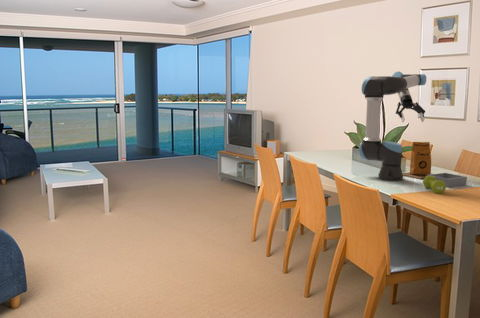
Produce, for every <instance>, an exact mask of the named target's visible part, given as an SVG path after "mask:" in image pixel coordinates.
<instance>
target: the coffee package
mask: <svg viewBox="0 0 480 318" xmlns="http://www.w3.org/2000/svg"><path fill="white" fill-rule="evenodd" d="M430 143H431V142H430V141H412V147H411V153H410V164H409V172H410V173H411V174H414V175H430V173H432V155H431V148H430V147H431V146H430Z"/></svg>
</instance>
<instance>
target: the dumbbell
mask: <svg viewBox="0 0 480 318" xmlns="http://www.w3.org/2000/svg"><path fill="white" fill-rule="evenodd" d="M422 184H423V186H424V187H425V189H431V190H432V192H433V193H434V194H443V193H444V192H445V191H446V190H447V187H446V185H445V183H444V181H442V180H436V178H435V177H434V176H426V177H425V178H424V179H422Z"/></svg>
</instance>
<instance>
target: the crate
mask: <svg viewBox="0 0 480 318" xmlns="http://www.w3.org/2000/svg"><path fill="white" fill-rule="evenodd" d="M427 176H434V177H435V178H436V180H442V181H444V183H445V185H446V189H449V188H455V187H462V186H467V181H468V180H467V179H468V176H465V175H460V174H454V173H448V172H440V173H432V174H430V175H427Z"/></svg>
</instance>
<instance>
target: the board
mask: <svg viewBox="0 0 480 318" xmlns="http://www.w3.org/2000/svg"><path fill="white" fill-rule="evenodd" d="M430 174H433V173H432V172H431V173H430ZM402 175H403V177H408V178H413V179H417V180H422V181H423V180H424V178H425V177H426V176H427V175H414V174H411V173H410V171H407V172H406V171H405V172H402Z"/></svg>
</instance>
